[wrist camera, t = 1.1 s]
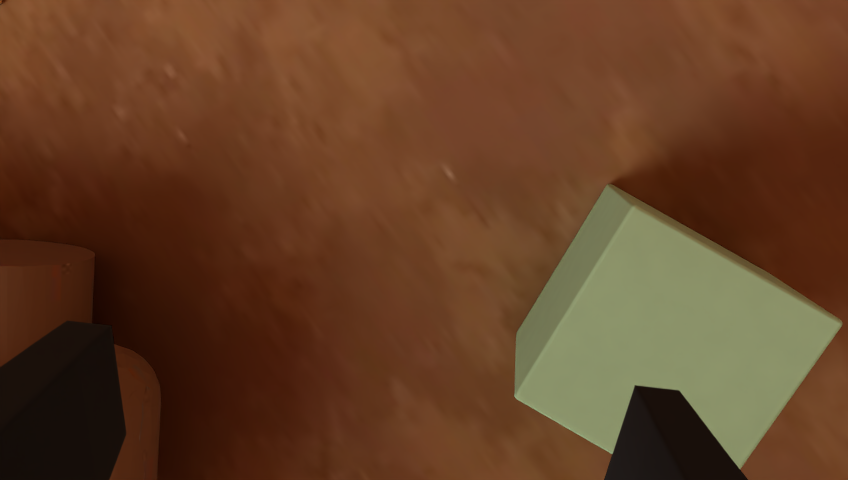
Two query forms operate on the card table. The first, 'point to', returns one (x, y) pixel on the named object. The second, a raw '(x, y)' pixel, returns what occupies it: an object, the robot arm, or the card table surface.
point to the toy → (73, 301)
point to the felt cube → (664, 330)
